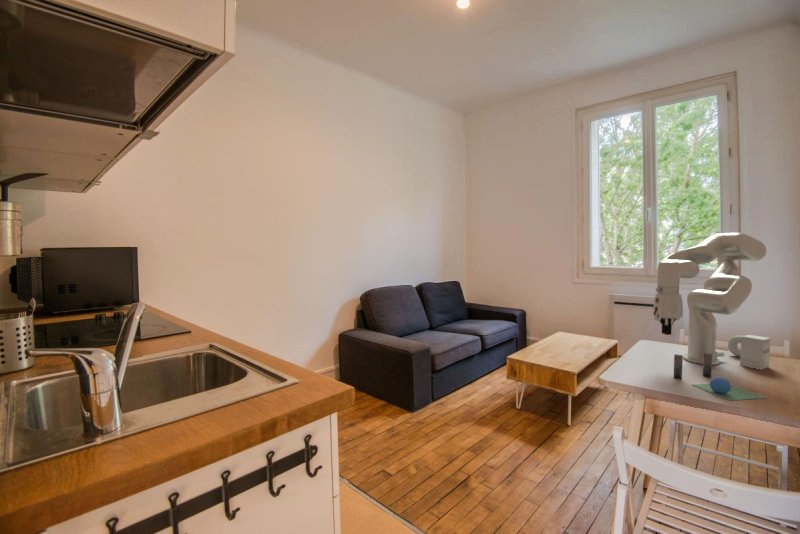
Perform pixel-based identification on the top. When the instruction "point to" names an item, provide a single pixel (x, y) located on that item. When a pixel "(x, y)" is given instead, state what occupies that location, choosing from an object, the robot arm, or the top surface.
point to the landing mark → (731, 393)
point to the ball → (720, 385)
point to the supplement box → (755, 351)
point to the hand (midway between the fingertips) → (666, 333)
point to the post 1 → (678, 366)
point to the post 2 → (707, 365)
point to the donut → (734, 345)
